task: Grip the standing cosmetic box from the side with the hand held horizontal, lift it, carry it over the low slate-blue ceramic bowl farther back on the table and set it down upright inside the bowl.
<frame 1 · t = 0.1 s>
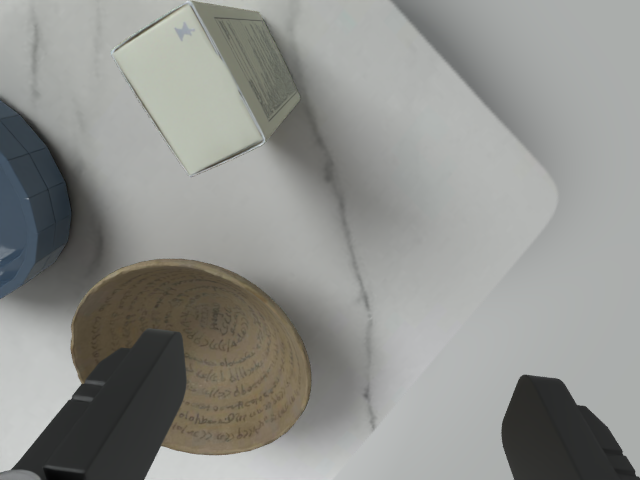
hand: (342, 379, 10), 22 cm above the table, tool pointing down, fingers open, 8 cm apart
cosmetic box: (256, 73, 28), on the table
bowl: (222, 311, 38), on the table
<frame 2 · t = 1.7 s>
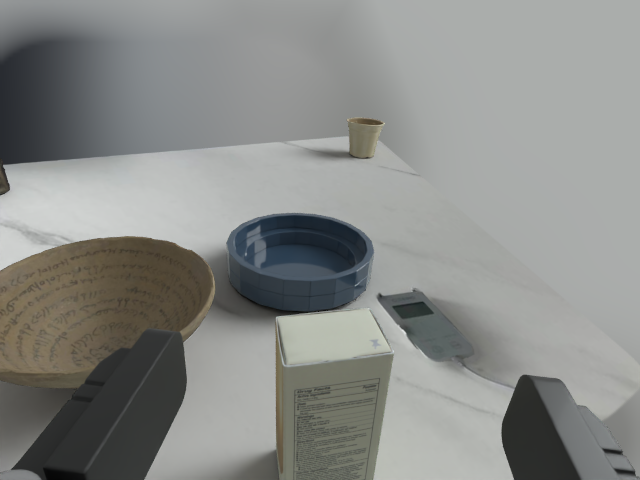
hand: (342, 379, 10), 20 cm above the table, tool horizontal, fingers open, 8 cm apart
cosmetic box: (319, 470, 29), on the table
flower pot: (361, 156, 106), on the table
serving bowl: (299, 273, 52), on the table
bowl: (110, 362, 37), on the table
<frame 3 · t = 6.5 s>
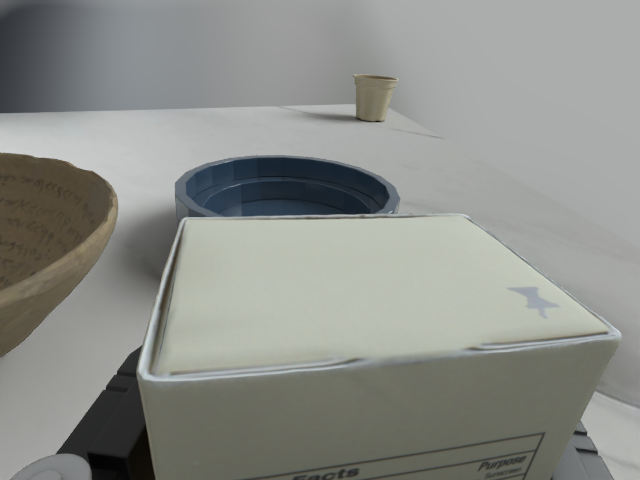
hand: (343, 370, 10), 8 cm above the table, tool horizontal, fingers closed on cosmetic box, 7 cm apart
flower pot: (370, 120, 89), on the table
serving bowl: (287, 234, 35), on the table
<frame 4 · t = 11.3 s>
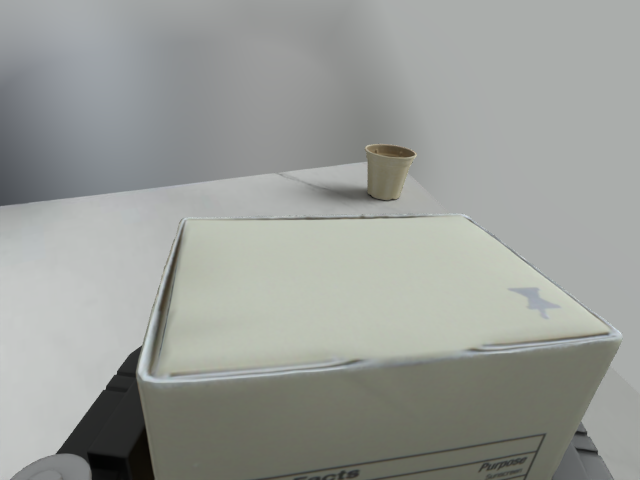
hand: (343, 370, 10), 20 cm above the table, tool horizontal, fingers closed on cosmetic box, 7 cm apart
flower pot: (383, 195, 78), on the table
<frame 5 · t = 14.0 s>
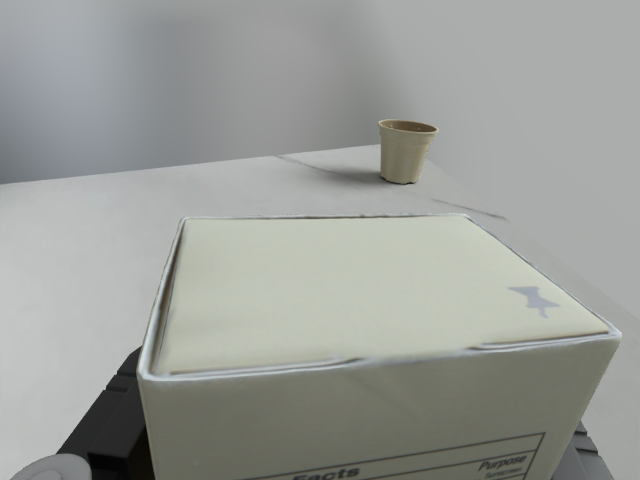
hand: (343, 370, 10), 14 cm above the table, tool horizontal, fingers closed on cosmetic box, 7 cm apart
flower pot: (399, 179, 68), on the table
when the fingers open (9 cm above the table, at t = 16.1 s): cosmetic box stays where it is, resting on serving bowl.
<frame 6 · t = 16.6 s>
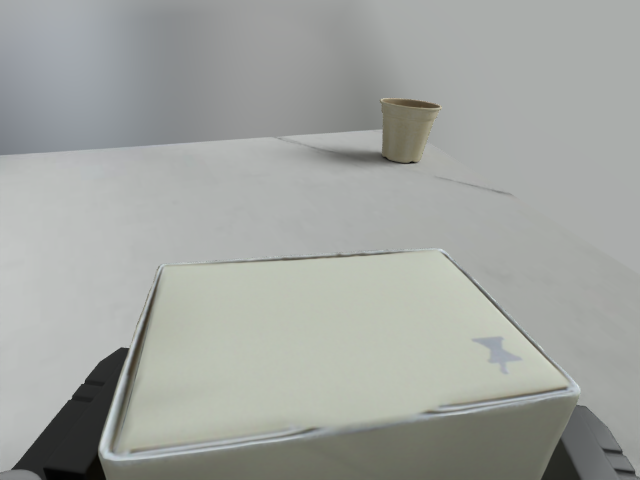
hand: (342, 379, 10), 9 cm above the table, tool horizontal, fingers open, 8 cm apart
flower pot: (401, 159, 66), on the table
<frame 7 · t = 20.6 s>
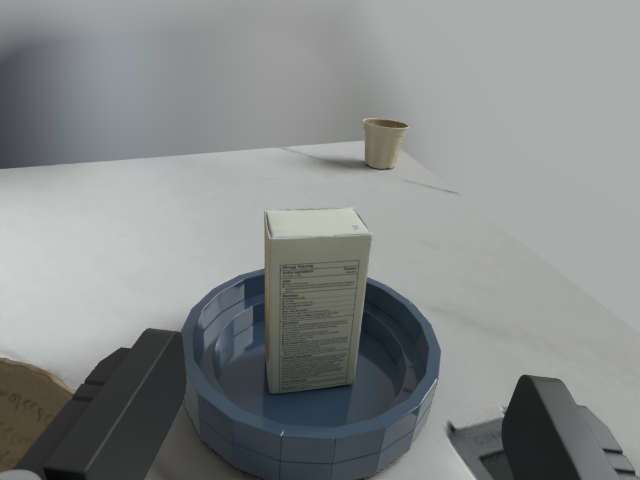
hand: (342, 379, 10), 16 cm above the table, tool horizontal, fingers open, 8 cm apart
cosmetic box: (305, 371, 31), resting on serving bowl
flower pot: (379, 166, 85), on the table
serving bowl: (307, 376, 31), on the table
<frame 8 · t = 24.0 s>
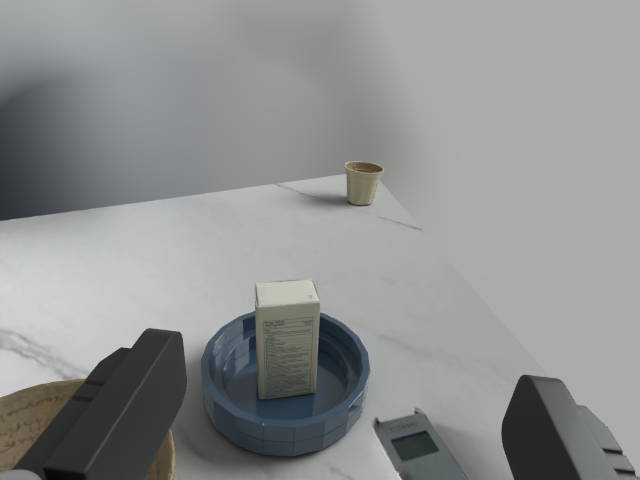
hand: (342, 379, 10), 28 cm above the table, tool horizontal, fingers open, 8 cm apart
cosmetic box: (283, 383, 46), resting on serving bowl
flower pot: (359, 202, 100), on the table
serving bowl: (285, 387, 46), on the table
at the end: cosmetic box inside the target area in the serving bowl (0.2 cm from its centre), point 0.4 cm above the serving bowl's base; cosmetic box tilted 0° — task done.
